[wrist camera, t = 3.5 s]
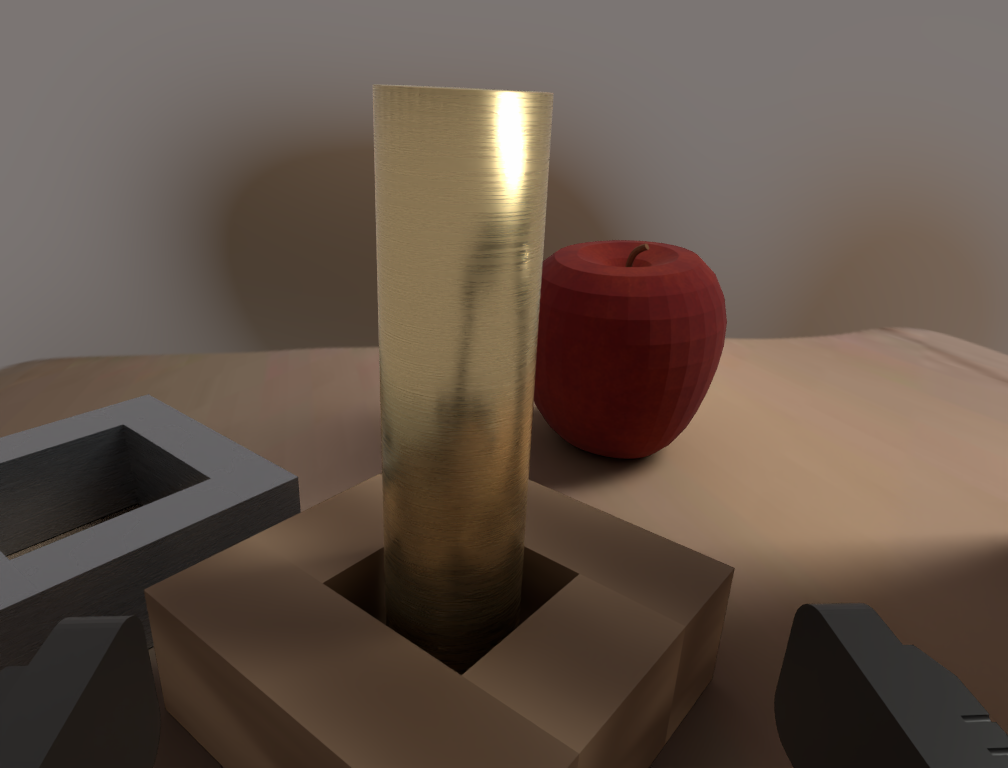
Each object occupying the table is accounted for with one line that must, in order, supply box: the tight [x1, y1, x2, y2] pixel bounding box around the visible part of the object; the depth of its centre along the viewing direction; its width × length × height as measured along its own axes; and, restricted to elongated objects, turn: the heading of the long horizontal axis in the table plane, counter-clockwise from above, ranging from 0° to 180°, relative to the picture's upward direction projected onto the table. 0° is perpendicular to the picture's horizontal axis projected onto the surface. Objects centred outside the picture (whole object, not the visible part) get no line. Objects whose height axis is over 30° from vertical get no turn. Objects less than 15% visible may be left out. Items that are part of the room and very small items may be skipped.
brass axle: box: [373, 85, 553, 676], centre depth 18 cm, size 4×4×16 cm
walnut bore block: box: [144, 473, 735, 768], centre depth 20 cm, size 11×11×4 cm
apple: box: [534, 240, 727, 458], centre depth 34 cm, size 10×10×10 cm
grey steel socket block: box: [0, 395, 301, 671], centre depth 24 cm, size 10×10×4 cm
